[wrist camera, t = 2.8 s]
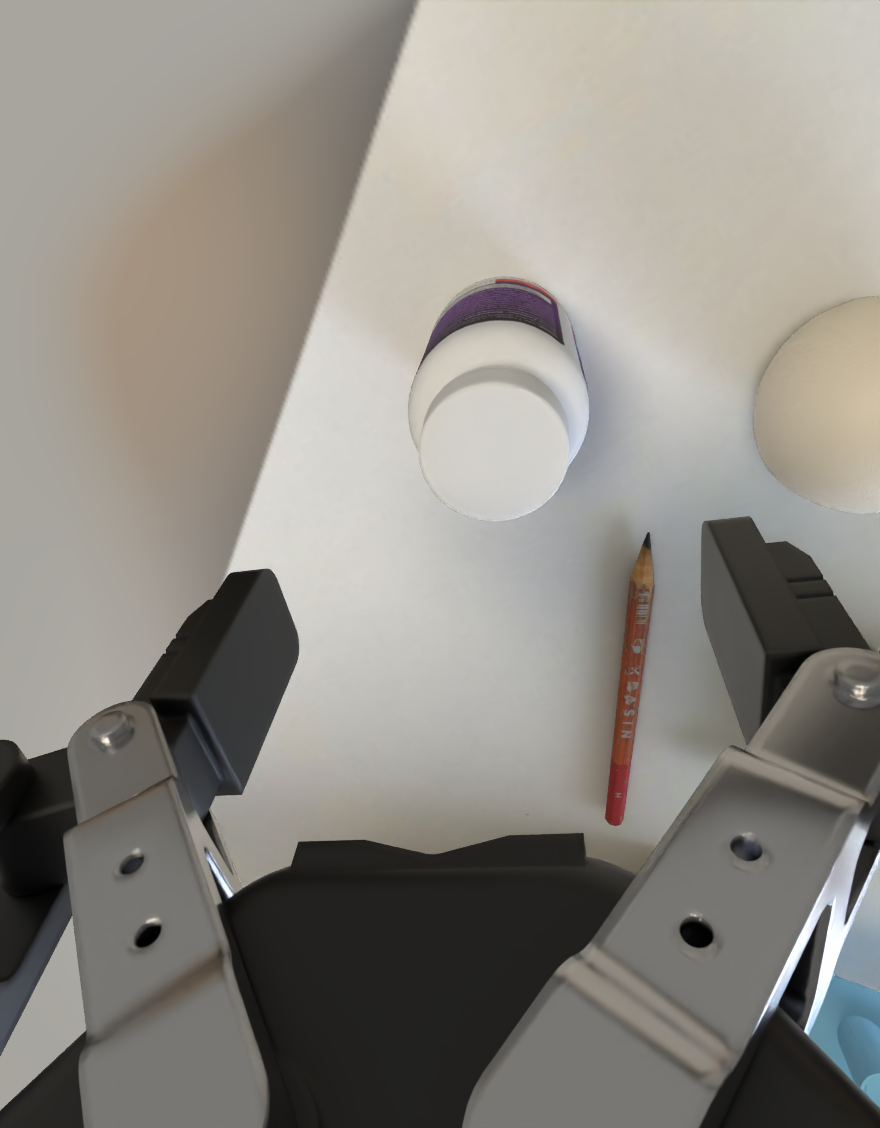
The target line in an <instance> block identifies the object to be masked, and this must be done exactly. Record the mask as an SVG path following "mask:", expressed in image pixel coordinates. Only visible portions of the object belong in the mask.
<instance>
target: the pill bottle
mask: <svg viewBox="0 0 880 1128" xmlns="http://www.w3.org/2000/svg"><path fill="white" fill-rule="evenodd" d="M408 418H409V426H410V432H411V435H412V438H413V441H414V444H415V446H416V448H417V450H418V452H419V461H420V466H421V469H422V473H423V475H424V478H425V480H426V482H427V483H428V485H429V487H430V488H431V490H432V491H433V493H434V494H435V495H436V496H437V497H438V498H439V499H440V500H441V501H442V502H443V503H444V504H445V505H447V506H448V507H450V508H451V509H453V510H454V511H456V512H458V513H460V514H463V515H465V516H467V517H471V518H474V519H478V520H484V521H503V520H511V519H515V518H518V517H521V516H524V515H526V514H529V513H531V512H533V511H534V510H536V509H538V508H539V507H540V506H542V505H543V504H544V503H546V502H547V501H548V500H549V499H550V498H551V497H552V496H553V495H554V494H555V493H556V491H557V490H558V488H559V486H560V485H561V483H562V481H563V479H564V477H565V474H566V472H567V469H568V466H569V465H570V463H571V462H572V461H573V459H574V458H575V456H576V455H577V453H578V451H579V450H580V447H581V445H582V443H583V441H584V438H585V435H586V432H587V427H588V422H589V397H588V389H587V383H586V380H585V375H584V371H583V368H582V363H581V359H580V356H579V352H578V348H577V344H576V340H575V335H574V332H573V328H572V326H571V324H570V321H569V319H568V317H567V315H566V313H565V311H564V309H563V308H562V307H561V305H560V304H559V303H558V301H557V300H556V299H555V298H554V297H553V296H552V295H550V294H549V293H548V292H547V291H546V290H544V289H543V288H541V287H540V286H538V285H536V284H534V283H532V282H529V281H526V280H523V279H519V278H514V277H494V278H489V279H485V280H482V281H479V282H476V283H474V284H472V285H470V286H468V287H467V288H465V289H464V290H462V291H461V292H459V293H458V294H457V295H456V296H455V297H454V298H453V299H452V300H451V301H450V302H449V303H448V304H447V306H446V307H445V308H444V310H443V311H442V313H441V314H440V316H439V318H438V320H437V322H436V324H435V326H434V329H433V332H432V334H431V337H430V340H429V343H428V345H427V348H426V351H425V353H424V356H423V358H422V361H421V363H420V366H419V368H418V371H417V373H416V375H415V378H414V381H413V384H412V387H411V392H410V396H409V406H408Z"/></svg>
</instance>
